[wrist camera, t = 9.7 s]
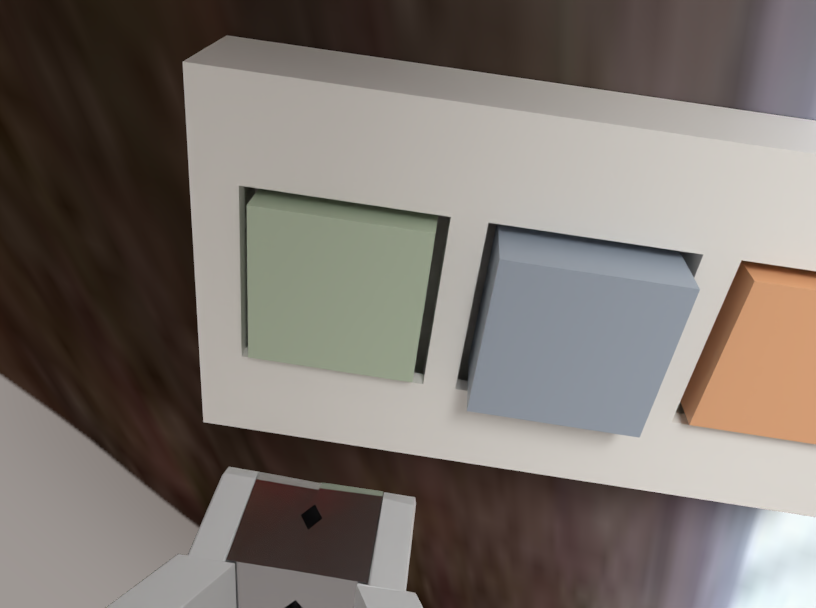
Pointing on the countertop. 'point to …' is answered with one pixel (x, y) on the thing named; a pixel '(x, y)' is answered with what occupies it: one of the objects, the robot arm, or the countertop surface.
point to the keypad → (472, 242)
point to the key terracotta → (760, 357)
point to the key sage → (336, 283)
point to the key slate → (576, 329)
